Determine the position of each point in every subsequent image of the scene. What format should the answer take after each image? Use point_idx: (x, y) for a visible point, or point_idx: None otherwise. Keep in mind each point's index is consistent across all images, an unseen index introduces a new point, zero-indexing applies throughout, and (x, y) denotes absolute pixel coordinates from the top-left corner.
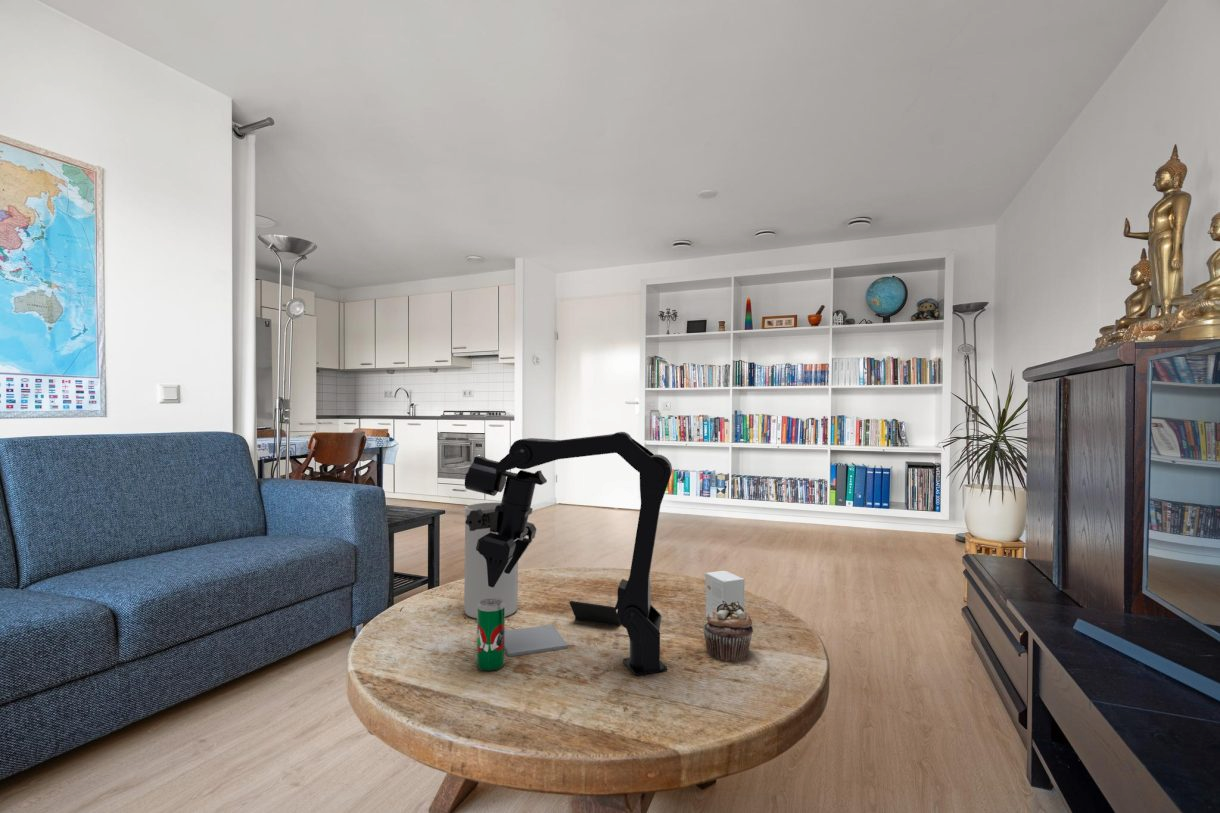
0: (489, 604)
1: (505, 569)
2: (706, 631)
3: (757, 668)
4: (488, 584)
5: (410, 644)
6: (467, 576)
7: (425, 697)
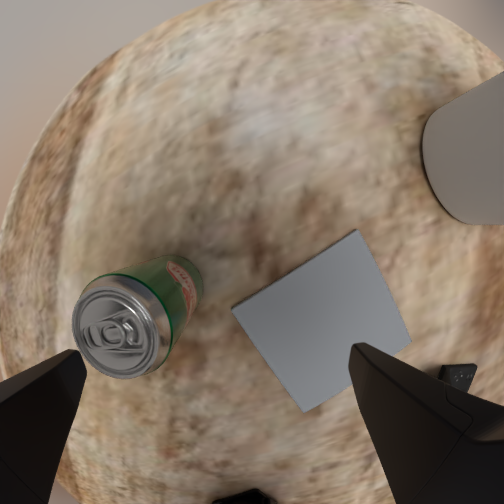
0: (86, 337)
1: (359, 357)
2: None
3: None
4: (64, 353)
5: (251, 58)
6: (485, 86)
7: (44, 217)
